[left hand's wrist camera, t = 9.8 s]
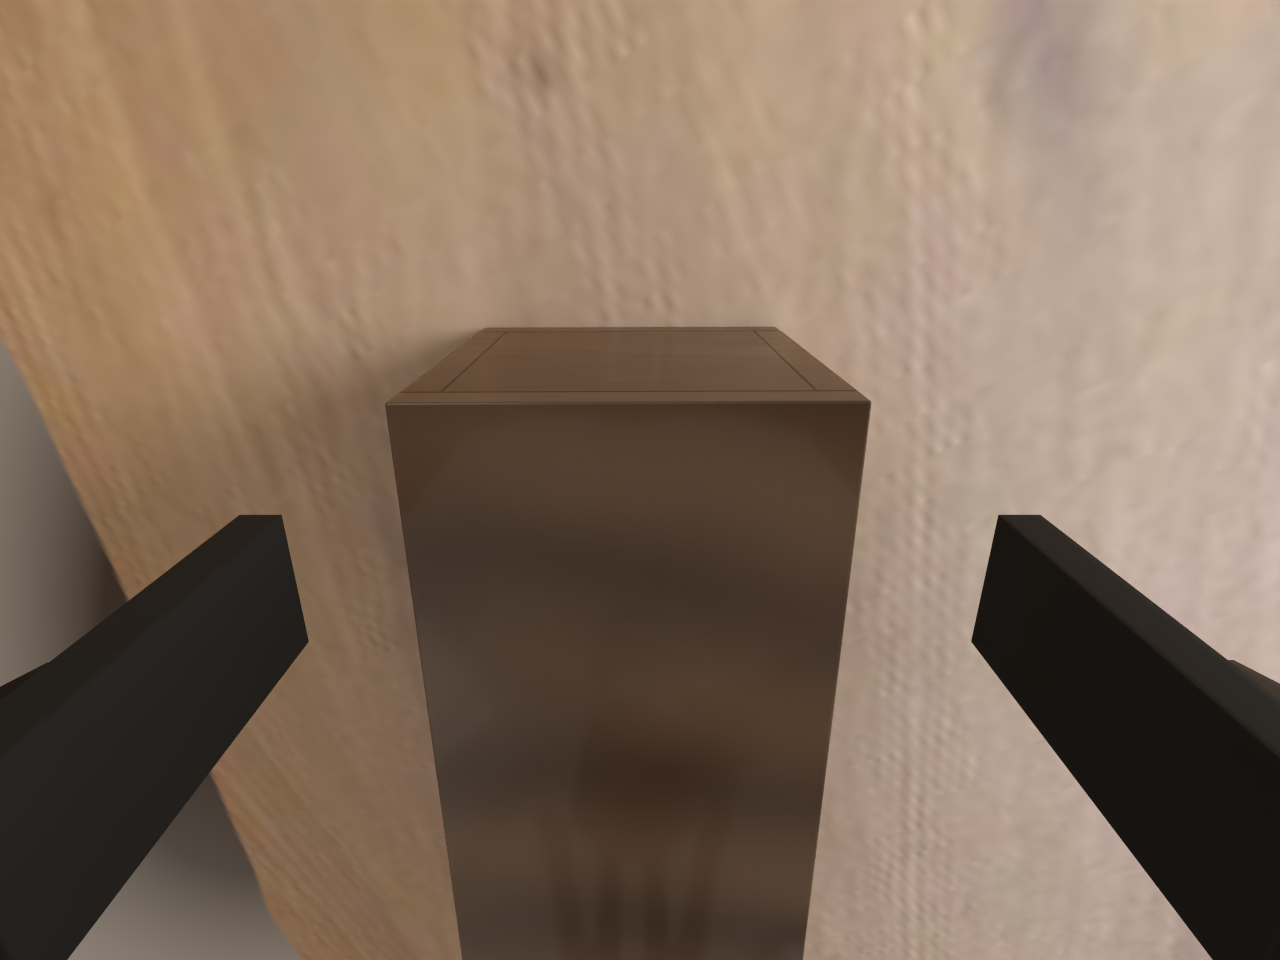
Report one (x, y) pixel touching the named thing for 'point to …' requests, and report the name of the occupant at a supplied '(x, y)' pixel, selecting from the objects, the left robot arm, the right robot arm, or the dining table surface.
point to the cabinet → (630, 631)
